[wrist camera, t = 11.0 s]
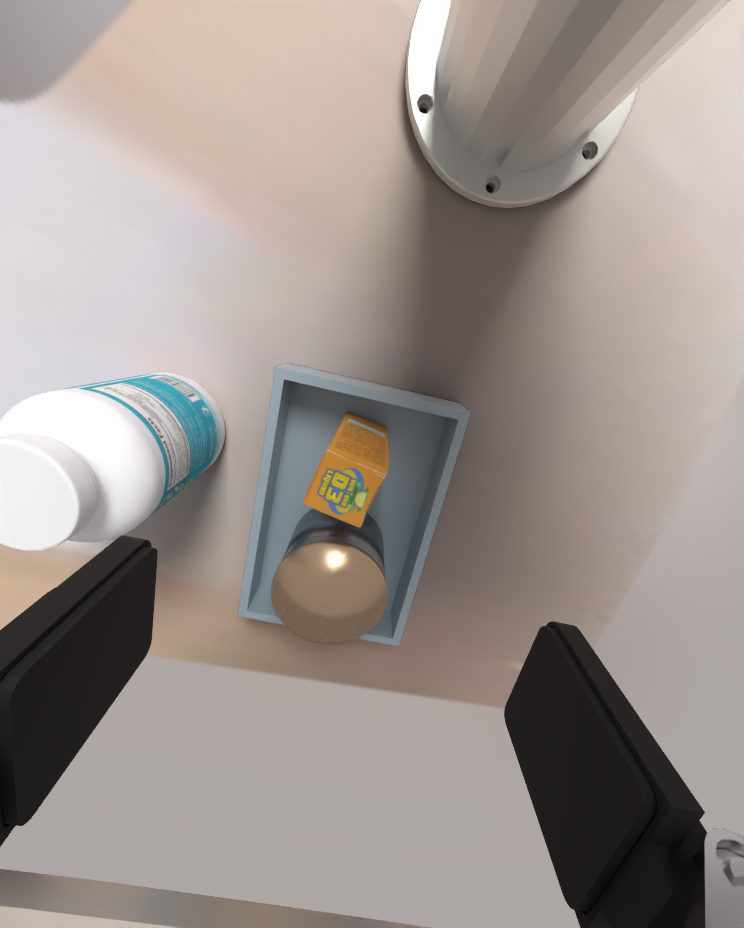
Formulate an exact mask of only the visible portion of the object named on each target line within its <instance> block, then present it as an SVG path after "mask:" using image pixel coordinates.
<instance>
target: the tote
mask: <svg viewBox="0 0 744 928" xmlns="http://www.w3.org/2000/svg"><path fill="white" fill-rule="evenodd" d="M347 411H349V412H351V413H354V414H356V415H359V416H362V417H364V418H367V419H369V420H372V421H374V422H376V423H379V424H381V425H384V426H386V427H387V428H388V446H389V468H388V474H387V476H386V477H385V479H384V481H383V482H382V484H381V486H380V488H379V489H378V491H377V493H376V495H375V497H374V499H373V501H372V503H371V505H370V507H369V509H368V512H367V513H368V514H369V515H370V516H371V517H372V518H373V519H374V520H375V521H376V523H377V524H378V526H379V528H380V530H381V533H382V537H383V545H384V565H385V579H386V582H387V592H388V597H387V605H386V609H385V611H384V614H383V616H382V617H381V619H380V621H379V622H378V623H377V624H376V625H375V626H374V627H373V628H372V629H371V630H370V631H369V632H368V633H366V634H364V635H363V636H361V637H359V638H357V639H361V640H366V641H372V642H377V643H382V644H387V645H393V646H398V647H399V644H400V641H401V638H402V634H403V631H404V628H405V625H406V621H407V618H408V615H409V612H410V609H411V605H412V602H413V599H414V596H415V592H416V589H417V586H418V583H419V579H420V576H421V573H422V570H423V566H424V563H425V560H426V557H427V554H428V550H429V547H430V544H431V541H432V537H433V534H434V531H435V528H436V524H437V521H438V518H439V515H440V512H441V508H442V505H443V502H444V499H445V495H446V492H447V489H448V486H449V482H450V479H451V476H452V473H453V470H454V466H455V463H456V460H457V457H458V453H459V450H460V447H461V444H462V440H463V437H464V434H465V431H466V428H467V424H468V421H469V418H470V415H471V412H470V411H469V410H467V409H466V408H465V407H464V406H462V405H461V404H460V403H458V402H454V401H449V400H445V399H441V398H436V397H432V396H428V395H424V394H419V393H415V392H411V391H407V390H402V389H398V388H394V387H389V386H385V385H381V384H377V383H372V382H368V381H364V380H360V379H355V378H351V377H347V376H342V375H338V374H334V373H330V372H325V371H321V370H317V369H313V368H308V367H304V366H300V365H296V364H291V363H286V364H283V365H280V366H276V367H275V373H274V380H273V386H272V393H271V399H270V406H269V412H268V419H267V426H266V432H265V439H264V445H263V452H262V459H261V465H260V472H259V478H258V485H257V491H256V498H255V505H254V511H253V518H252V524H251V531H250V538H249V544H248V551H247V557H246V564H245V570H244V577H243V584H242V590H241V597H240V603H239V610H238V616H240V617H245V618H250V619H255V620H261V621H266V622H271V623H277V624H282V625H284V624H283V623H282V621H281V620H280V619H279V617H278V616H277V614H276V612H275V610H274V607H273V605H272V600H271V584H272V580H273V577H274V574H275V572H276V570H277V567H278V566H279V564H280V563H281V561H282V559H283V557H284V554H285V552H286V549H287V547H288V544H289V542H290V539H291V537H292V534H293V532H294V530H295V527H296V525H297V523H298V522H299V520H300V519H301V518H302V517H303V516H304V515H305V514H306V513H307V512H309V511H310V510H311V509H313V508H311V507H309V506H307V505H305V504H304V503H303V500H304V498H305V496H306V493H307V491H308V489H309V486H310V484H311V482H312V479H313V477H314V475H315V473H316V470H317V468H318V466H319V464H320V461H321V459H322V457H323V455H324V453H325V452H326V450H327V449H328V447H329V445H330V443H331V441H332V439H333V437H334V435H335V433H336V432H337V430H338V428H339V426H340V424H341V422H342V419H343V417H344V415H345V413H346V412H347Z"/></svg>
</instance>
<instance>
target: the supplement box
mask: <svg viewBox="0 0 744 928" xmlns="http://www.w3.org/2000/svg"><path fill="white" fill-rule="evenodd" d="M388 468H389V446H388V428H387V427H386V426H384V425H381V424H379V423H376V422H374V421H372V420H369V419H367V418H364V417H362V416H359V415H356V414H354V413H351V412H349V411H347V412H346V413H345V415H344V417H343V419H342V422H341V424H340V426H339V428H338V430H337V432H336V433H335V435H334V437H333V439H332V441H331V443H330V445H329V447H328V449H327V450H326V452H325V453H324V455H323V457H322V459H321V461H320V464H319V466H318V468H317V470H316V473H315V475H314V477H313V479H312V482H311V484H310V486H309V489H308V491H307V493H306V496H305V498H304V500H303V503H304V504H305V505H307V506H309V507H311V508H313V509H315V510H318V511H320V512H322V513H325V514H327V515H329V516H332V517H334V518H337V519H339V520H342V521H344V522H346V523H349V524H351V525H354V526H356V527H361V526H362V524H363V521H364V518H365V516H366V514H367V512H368V509H369V507H370V505H371V503H372V501H373V499H374V497H375V495H376V493H377V491H378V489H379V488H380V486H381V484H382V482H383V481H384V479H385V477H386V476H387V474H388Z"/></svg>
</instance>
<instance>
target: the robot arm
mask: <svg viewBox="0 0 744 928" xmlns="http://www.w3.org/2000/svg"><path fill="white" fill-rule="evenodd" d="M729 1H730V0H420V2H419V4H418V7H417V11H416V14H415V18H414V21H413V25H412V29H411V32H410V38H409V44H408V51H407V59H406V79H405V89H406V98H407V108H408V114H409V117H410V121H411V125H412V128H413V132H414V136H415V138H416V140H417V142H418V144H419V147H420V149H421V151H422V153H423V155H424V157H425V159H426V160H427V161H428V163H429V164H430V166H431V167H432V168H433V170H434V171H435V173H436V174H437V175H438V176H439V177H440V178H441V179H442V180H443V181H444V182H445V183H446V184H447V185H448V186H449V187H450V188H451V189H453V190H454V191H456V192H457V193H459V194H461V195H462V196H464V197H466V198H467V199H469V200H471V201H474V202H477V203H480V204H483V205H486V206H490V207H500V208H516V207H524V206H530V205H533V204H536V203H539V202H542V201H545V200H548V199H550V198H552V197H554V196H555V195H557V194H559V193H561V192H562V191H564V190H566V189H568V188H569V187H570V186H572V185H573V184H574V183H575V182H577V181H578V180H579V179H581V178H582V177H583V176H585V175H586V174H587V173H588V172H589V171H590V170H591V169H592V168H593V167H594V166H595V165H596V164H597V163H598V162H599V161H600V160H601V159H602V158H603V156H604V155H605V154H606V152H607V151H608V150H609V148H610V147H611V146H612V144H613V143H614V141H615V140H616V139H617V137H618V136H619V134H620V132H621V130H622V128H623V126H624V124H625V122H626V120H627V118H628V116H629V115H630V112H631V110H632V107H633V104H634V101H635V98H636V95H637V93H638V90H639V87H640V85H641V84H642V83H643V82H644V81H645V80H646V79H647V78H648V77H649V76H650V75H651V74H652V73H654V72H655V71H656V70H657V69H658V68H659V67H660V66H661V65H662V64H663V63H664V62H665V61H666V60H667V59H668V58H670V57H671V56H672V55H673V54H674V53H675V52H676V51H677V50H678V49H679V48H680V47H681V46H682V45H683V44H684V43H685V42H687V41H688V40H689V39H690V38H691V37H692V36H693V35H694V34H695V33H696V32H697V31H698V30H699V29H700V28H701V27H703V26H704V25H705V24H706V23H707V22H708V21H709V20H710V19H711V18H712V17H713V16H714V15H715V14H716V13H717V12H718V11H720V10H721V9H722V8H723V7H724V6H725V5H726V4H727V3H728V2H729ZM421 108H425V109H426V110H427V114H422V113H421V112H419V109H421ZM582 153H584V154H585V156H586V159H585V158H583V155H582ZM488 185H490V186H491V187H492V189H493V191H492V193H489V192H487V190H486V186H488ZM156 569H157V549H155V548H151V543H150V541H148V540H144V539H139V538H134V537H129V536H121V537H119V538H118V539H116V540H115V541H114V542H113V543H111V544H110V545H109V546H108V547H106V548H105V549H104V550H103V551H101V552H100V553H99V554H98V555H96V556H95V557H94V558H93V559H91V560H90V561H89V562H88V563H86V564H85V565H84V566H83V567H81V568H80V569H79V570H78V571H76V572H75V573H74V574H73V575H71V576H70V577H69V578H68V579H66V580H65V581H64V582H63V583H61V584H60V585H59V586H58V587H56V588H54V589H53V590H51V591H49V592H48V593H47V594H45V595H44V596H43V597H42V598H40V599H39V600H38V601H37V602H35V603H34V604H33V605H31V606H30V607H29V608H28V609H26V610H25V611H24V612H23V613H21V614H20V615H19V616H18V617H16V618H15V619H14V620H13V621H11V622H10V623H9V624H8V625H6V626H5V627H4V628H3V629H1V630H0V846H1V845H2V844H3V842H4V841H5V839H6V838H7V837H8V835H9V834H10V833H11V831H12V829H13V828H14V827H15V826H16V825H18V826H23V825H24V824H26V823H27V822H28V821H29V820H30V819H31V818H32V816H33V815H34V813H35V812H36V811H37V810H38V808H39V807H40V805H41V804H42V802H43V801H44V800H45V798H46V797H47V795H48V794H49V792H50V791H51V790H52V788H53V787H54V785H55V784H56V783H57V781H58V780H59V778H60V777H61V775H62V774H63V773H64V771H65V770H66V768H67V767H68V766H69V764H70V762H71V761H72V760H73V759H74V757H75V756H76V754H77V753H78V751H79V750H80V749H81V747H82V746H83V744H84V743H85V742H86V740H87V739H88V737H89V736H90V734H91V733H92V732H93V730H94V729H95V727H96V726H97V725H98V723H99V722H100V720H101V719H102V717H103V716H104V715H105V713H106V712H107V710H108V709H109V707H110V706H111V705H112V703H113V702H114V701H115V699H116V698H117V696H118V695H119V693H120V692H121V691H122V689H123V688H124V686H125V685H126V683H127V682H128V681H129V679H130V678H131V676H132V675H133V673H134V672H135V671H136V669H137V668H138V667H139V665H140V664H141V662H142V661H143V659H144V658H145V656H146V655H147V653H148V651H149V648H150V645H151V641H152V628H153V613H154V598H155V584H156ZM504 716H505V722H506V726H507V729H508V732H509V735H510V738H511V741H512V744H513V747H514V750H515V753H516V755H517V758H518V762H519V764H520V767H521V771H522V773H523V776H524V779H525V782H526V785H527V788H528V791H529V794H530V797H531V800H532V803H533V806H534V809H535V812H536V815H537V818H538V821H539V824H540V827H541V830H542V833H543V836H544V839H545V842H546V845H547V848H548V851H549V854H550V857H551V860H552V863H553V866H554V869H555V872H556V875H557V878H558V881H559V884H560V887H561V890H562V893H563V896H564V898H565V900H566V902H567V904H568V905H569V907H570V908H572V909H574V910H575V913H576V916H577V919H578V922H579V924H580V927H581V928H744V837H742V836H741V835H739V834H737V833H734V832H731V831H729V830H726V829H717V828H714V829H712V830H710V831H709V832H706V830H705V829H704V827H703V826H702V824H701V823H700V821H699V820H700V819H701V817H702V816H703V814H704V813H705V812H704V811H703V809H702V808H701V806H700V805H699V803H698V802H697V800H696V799H695V797H694V796H693V794H692V793H691V792H690V790H689V789H688V787H687V786H686V785H685V783H684V781H683V780H682V778H681V777H680V776H679V774H678V773H677V771H676V770H675V768H674V767H673V766H672V764H671V763H670V761H669V760H668V758H667V757H666V755H665V754H664V752H663V751H662V749H661V748H660V746H659V745H658V744H657V742H656V741H655V739H654V738H653V736H652V735H651V733H650V732H649V730H648V729H647V728H646V726H645V725H644V723H643V722H642V720H641V719H640V717H639V716H638V714H637V713H636V712H635V710H634V709H633V707H632V706H631V704H630V703H629V701H628V700H627V698H626V697H625V696H624V694H623V693H622V691H621V690H620V688H619V687H618V685H617V684H616V682H615V681H614V680H613V678H612V677H611V675H610V674H609V672H608V671H607V669H606V668H605V667H604V665H603V664H602V662H601V661H600V659H599V658H598V656H597V655H596V654H595V652H594V650H593V649H592V648H591V646H590V645H589V643H588V642H587V640H586V639H585V637H584V636H583V634H582V633H581V632H580V630H579V629H578V628H577V627H575V626H573V625H568V624H563V623H558V622H549V623H548V624H547V625H546V626H542V627H541V628H540V630H539V631H538V634H537V636H536V638H535V640H534V643H533V645H532V647H531V649H530V652H529V654H528V656H527V658H526V661H525V663H524V665H523V667H522V670H521V672H520V674H519V676H518V679H517V681H516V683H515V685H514V688H513V690H512V692H511V694H510V697H509V699H508V701H507V703H506V706H505V711H504ZM0 928H429V927H422V926H415V925H409V924H402V923H395V922H388V921H381V920H374V919H367V918H361V917H353V916H347V915H339V914H333V913H325V912H319V911H312V910H305V909H298V908H291V907H284V906H277V905H270V904H263V903H256V902H249V901H242V900H234V899H227V898H219V897H213V896H205V895H198V894H190V893H183V892H176V891H168V890H161V889H155V888H147V887H140V886H133V885H125V884H117V883H111V882H103V881H96V880H89V879H81V878H73V877H64V876H55V875H47V874H37V873H29V872H21V871H12V870H3V869H0Z"/></svg>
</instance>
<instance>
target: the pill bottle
mask: <svg viewBox="0 0 744 928" xmlns="http://www.w3.org/2000/svg"><path fill="white" fill-rule="evenodd" d="M224 439H225V424H224V419H223V416H222V413H221V411H220V408H219V406H218V405H217V403H216V401H215V400H214V399H213V397H212V396H211V395H210V394H209V393H208V392H207V391H206V390H205V389H204V388H203V387H202V386H200V385H199V384H197V383H196V382H194V381H192V380H190V379H188V378H186V377H184V376H180V375H177V374H172V373H153V374H146V375H140V376H135V377H129V378H123V379H118V380H112V381H107V382H101V383H95V384H89V385H84V386H77V387H71V388H65V389H60V390H55V391H50V392H45V393H41V394H37V395H34V396H32V397H29V398H27V399H25V400H23V401H22V402H20V403H19V404H17V405H15V406H14V407H13V408H12V409H10V410H9V411H8V412H7V413H6V414H5V415H4V417H3V418H2V419H1V420H0V544H3V545H5V546H8V547H11V548H15V549H19V550H26V551H39V550H45V549H49V548H52V547H55V546H57V545H59V544H61V543H63V542H65V541H66V540H70V541H78V542H96V541H103V540H108V539H112V538H116V537H119V536H121V535H123V534H125V533H127V532H129V531H131V530H133V529H134V528H135V527H137V526H138V525H140V524H141V523H142V522H143V521H144V520H146V519H147V518H148V517H149V516H151V515H152V514H153V513H154V512H155V511H157V510H158V509H159V508H160V507H161V506H163V505H164V504H165V503H166V502H167V501H169V500H170V499H171V498H172V497H173V496H175V495H176V494H177V493H178V492H180V491H181V490H182V489H183V488H184V487H186V486H187V485H188V484H189V483H191V482H192V481H193V480H194V479H195V478H197V477H198V476H199V475H200V474H201V473H203V472H204V471H205V470H206V469H207V468H209V467H210V466H211V465H212V464H213V463H214V461H215V460H216V459H217V458H218V456H219V454H220V452H221V450H222V447H223V444H224Z"/></svg>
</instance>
